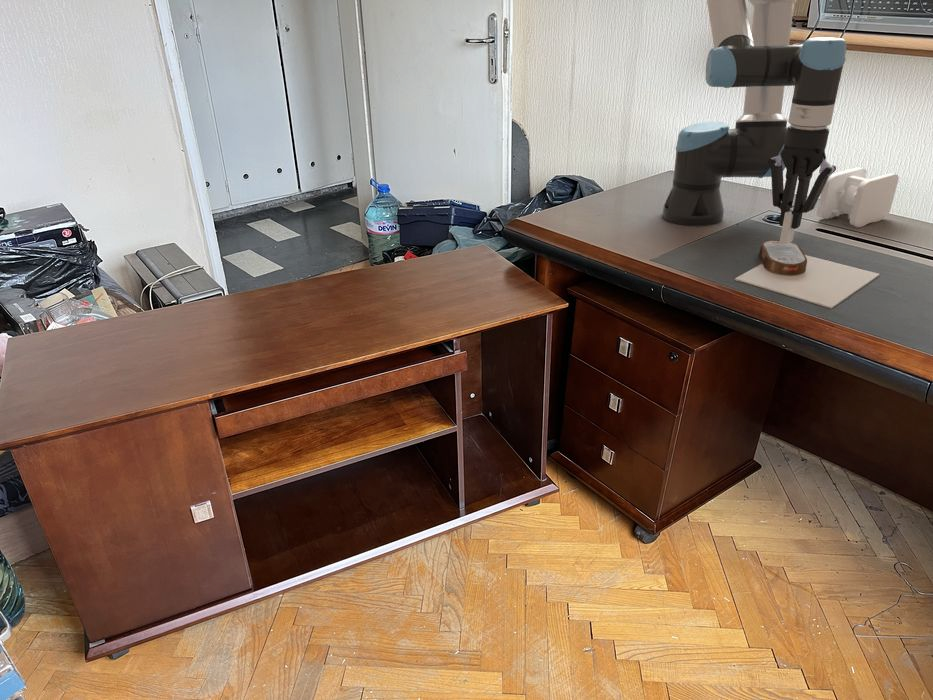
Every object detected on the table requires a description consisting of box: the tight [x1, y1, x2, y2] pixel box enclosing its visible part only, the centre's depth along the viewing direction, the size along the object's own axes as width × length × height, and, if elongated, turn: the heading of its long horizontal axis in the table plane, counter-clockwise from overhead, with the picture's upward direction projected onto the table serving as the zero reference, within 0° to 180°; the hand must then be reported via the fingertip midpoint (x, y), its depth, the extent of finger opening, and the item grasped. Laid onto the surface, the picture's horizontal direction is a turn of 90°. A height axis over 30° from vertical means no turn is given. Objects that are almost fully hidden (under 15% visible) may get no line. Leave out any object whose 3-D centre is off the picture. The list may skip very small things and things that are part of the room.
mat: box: [734, 254, 880, 309], centre depth 143 cm, size 20×22×1 cm
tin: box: [758, 239, 807, 276], centre depth 149 cm, size 15×3×8 cm
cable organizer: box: [816, 167, 900, 229], centre depth 170 cm, size 15×11×12 cm
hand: (786, 241), depth 143 cm, fingers closed
